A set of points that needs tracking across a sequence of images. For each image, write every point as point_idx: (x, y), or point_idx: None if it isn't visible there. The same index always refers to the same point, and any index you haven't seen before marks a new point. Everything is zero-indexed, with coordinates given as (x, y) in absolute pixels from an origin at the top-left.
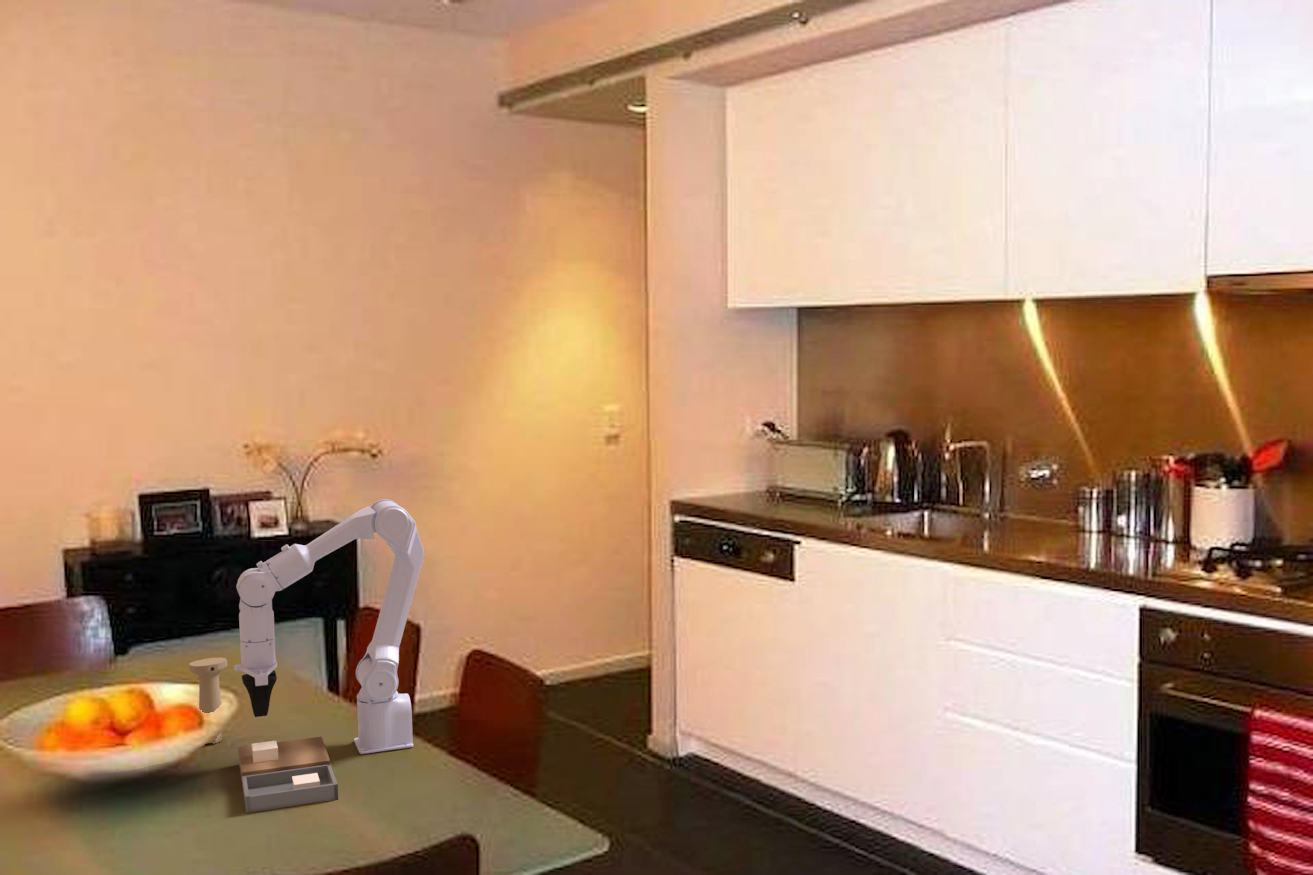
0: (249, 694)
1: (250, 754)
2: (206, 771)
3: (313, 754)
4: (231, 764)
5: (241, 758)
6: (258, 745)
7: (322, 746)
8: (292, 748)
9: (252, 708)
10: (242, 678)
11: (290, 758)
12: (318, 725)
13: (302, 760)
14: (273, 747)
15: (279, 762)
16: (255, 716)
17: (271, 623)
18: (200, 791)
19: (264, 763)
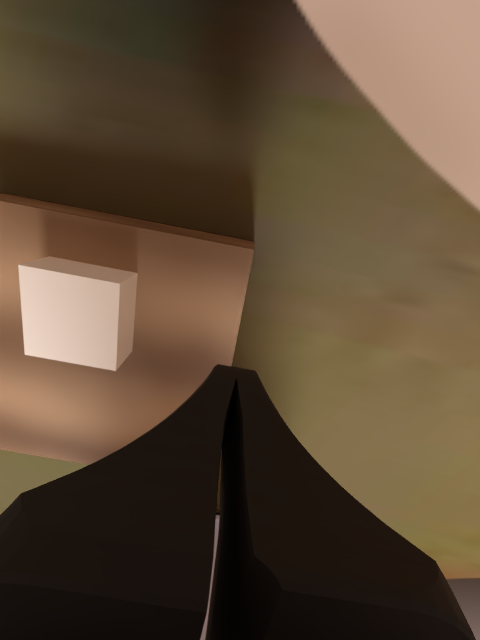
0: (139, 437)
1: (146, 269)
2: (248, 120)
3: (57, 427)
4: (267, 219)
5: (118, 229)
6: (84, 301)
7: None
8: (141, 397)
9: (206, 380)
10: (127, 593)
11: (46, 368)
12: (431, 496)
13: (15, 390)
14: (36, 342)
15: (20, 331)
16: (214, 367)
17: None
18: (47, 49)
19: None
